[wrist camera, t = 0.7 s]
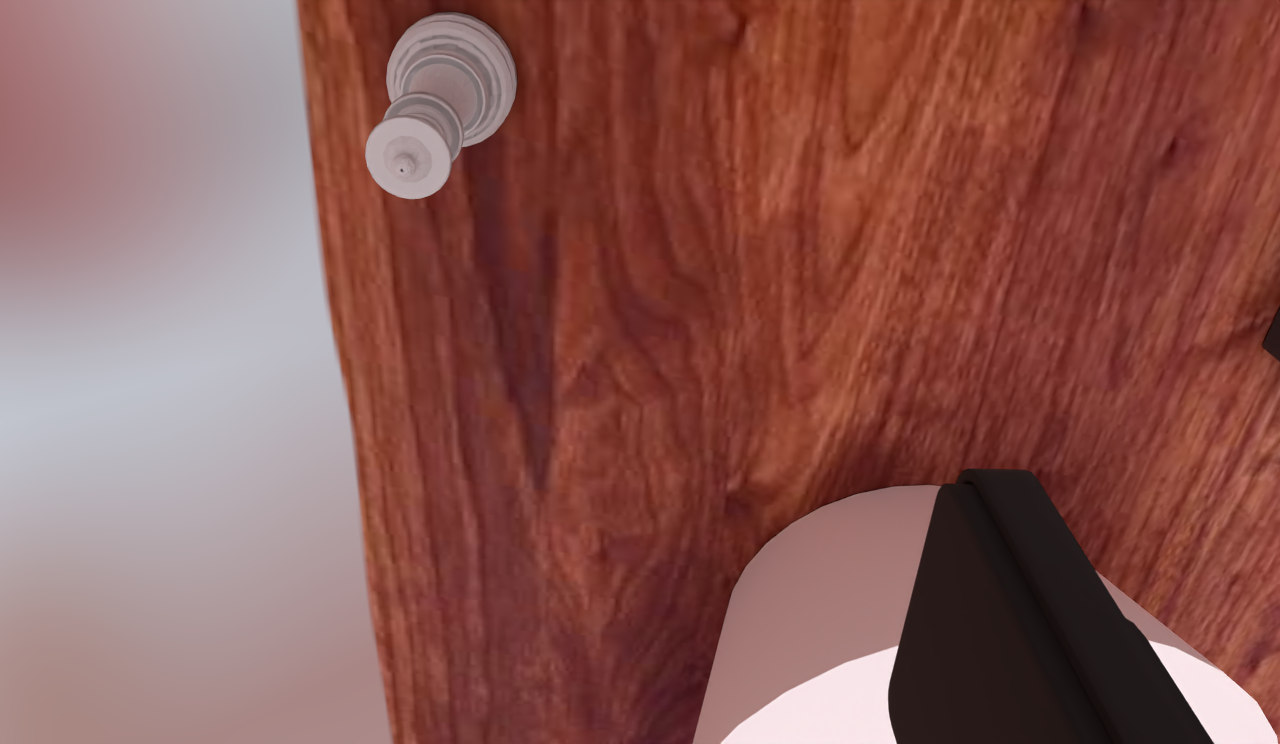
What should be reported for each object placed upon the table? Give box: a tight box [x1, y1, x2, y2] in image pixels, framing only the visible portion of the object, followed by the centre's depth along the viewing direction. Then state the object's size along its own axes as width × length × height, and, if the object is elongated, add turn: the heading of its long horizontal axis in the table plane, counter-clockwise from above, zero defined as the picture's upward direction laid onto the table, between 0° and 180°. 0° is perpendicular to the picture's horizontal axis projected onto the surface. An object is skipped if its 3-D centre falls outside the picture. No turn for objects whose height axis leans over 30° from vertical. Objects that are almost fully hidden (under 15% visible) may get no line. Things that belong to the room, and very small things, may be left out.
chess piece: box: [365, 12, 517, 199], centre depth 30 cm, size 4×4×10 cm
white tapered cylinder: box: [693, 485, 1278, 744], centre depth 43 cm, size 24×24×12 cm
